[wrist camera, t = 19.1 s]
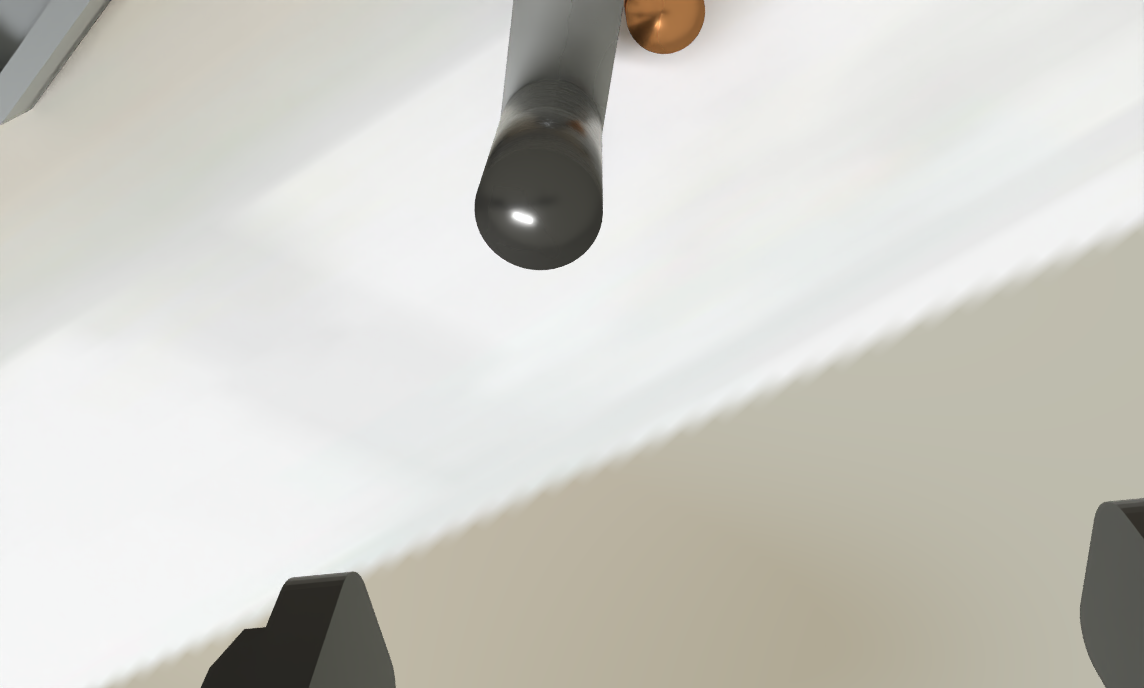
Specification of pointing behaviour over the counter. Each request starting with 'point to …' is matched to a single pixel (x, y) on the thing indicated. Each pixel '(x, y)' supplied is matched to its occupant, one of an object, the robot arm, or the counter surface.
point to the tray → (38, 46)
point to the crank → (550, 133)
